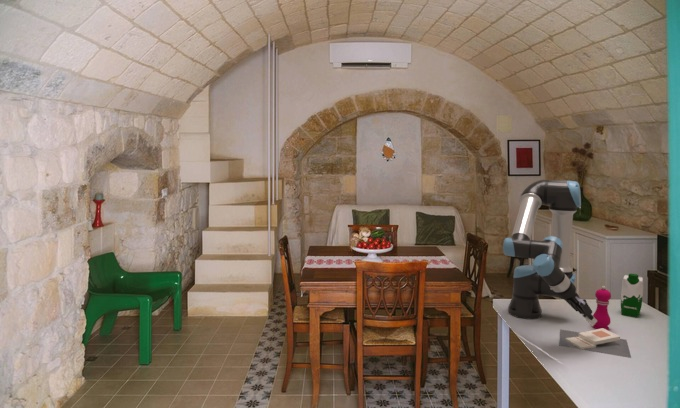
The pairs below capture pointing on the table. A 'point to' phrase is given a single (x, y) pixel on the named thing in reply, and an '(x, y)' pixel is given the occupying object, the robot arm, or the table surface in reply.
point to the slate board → (598, 345)
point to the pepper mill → (602, 309)
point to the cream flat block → (599, 336)
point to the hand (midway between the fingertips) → (593, 322)
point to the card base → (580, 342)
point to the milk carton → (631, 295)
